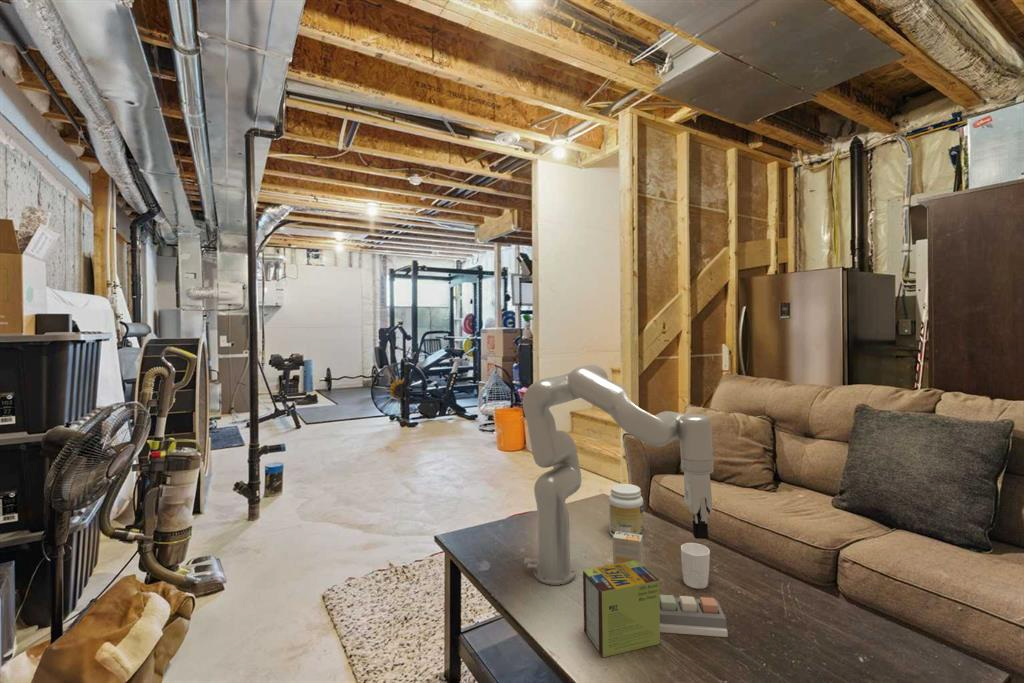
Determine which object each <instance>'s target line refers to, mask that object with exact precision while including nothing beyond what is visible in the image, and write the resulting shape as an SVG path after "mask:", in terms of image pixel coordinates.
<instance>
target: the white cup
mask: <svg viewBox="0 0 1024 683" xmlns="http://www.w3.org/2000/svg"><path fill="white" fill-rule="evenodd" d="M710 552H711V550H710V549H709V548H708V547H707V546H706V545H704V544H700V543H697V542H686V543H683V544H682V545H681V546H680V557H681V569H682V570H681V572H682V581H683V583H684V584H685V586H688V587H689V588H691V589H697V590H699V589H700V590H701V589H705V588H707V587H708V586H709V576H710V559H711V558H710V555H711V553H710Z"/></svg>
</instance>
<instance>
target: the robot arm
mask: <svg viewBox="0 0 1024 683" xmlns="http://www.w3.org/2000/svg"><path fill="white" fill-rule="evenodd" d="M578 399H581V400H584V401H586V402H587V403H589V404H591V405H593V406H594V407H596V408H598V409H600V410H601V411H603V412H605V413H607V414H608V415H609V416H610V417H611V418H612V419H613V421H614V422H615V423H616V424H617V425H618V426H619V427H620V428H621V429H623V431H625V432H626V433H628V434H629V435H631V436H632V437H634V438H636V439H637V440H640V441H641V442H642V443H645V444H647V445H649V446H652V447H659V448H660V447H664V446H667V445H669V443H671V442H673V441H675V440H679V448H680V449H679V450H680V468H681V471H682V472H683V496H684V497H683V500H684V503H685V506H686V507H687V508H686V509H688V511H689V512H690V514H691V515H692V535H693V536H694V539H695V540H696V539H698V540H700V539H701V540H707V539H709V528H708V526H709V524H708V515H711V514H712V513H713V498H712V497H713V496H712V495H713V494H712V485H711V484H712V481H711V475H710V474H713V473H714V470H715V469H714V468H715V467H714V455H713V454H714V453H713V452H714V450H713V434H712V432H713V431H712V430H713V429H712V421H711V420H712V419H710V417H709V416H708V415H705V414H702V413H689V414H686V413H680V412H675V411H670V410H669V411H667V410H664V411H662V412H659V413H657V414H655V415H654V414H652V413H650V412H648V411H646V410H644V409H642V408H641V407H639V406H637V405H636V404H635V403H634V402H633V401H632V400H631V399H630V397H629V393H628V390H627V388H626V387H625V386H623V385H620V384H619V383H617V382H615V381H613V380H611V379H609V376H608V374H607V372H606V370H604V368H602V367H601V366H599V365H594V364H590V365H585V366H579V367H576V368H574V369H573V370H572V371H570V372H567V373H565V374H562V375H556V376H552V377H547V378H542V379H539V380H537V381H535V382H533V383H532V384H530V385H529V386H528V387H527V389H525V392H524V394H523V398H522V409H523V413H524V417H525V419H526V420H525V421H526V424H527V430H528V436H529V442H530V448H531V453H532V457H533V458H532V459H533V460H534V463H535V464H536V465H537V466H538V467H539V468H542V469H543V468H544V469H546V468H548V469H549V468H551V467H552V469H550V470H548V471H546V472H543V474H541V475H540V476H539V477H538V478H537V480H536V481H535V484H534V487H533V492H534V497H535V498H534V499H535V502H536V510H537V528H538V529H537V533H538V534H537V535H538V536H537V537H538V541H537V542H538V554H537V555H538V556H537V557H534V558H531V557H528V558H527V557H526V558H524V566H527V569H534V570H533V575H534V578H535V577H536V578H537V579H538V580H537V579H536V578H535V579H536V580H537V581H539V582H540V583H542V582H543V584H545V583H546V585H549V584H550V586H553V585H554V586H561V585H560V584H562V585H566V584H569V583H571V582H572V581H573V580H575V578H576V570H575V567H574V566H572V565H571V546H570V545H571V543H570V540H571V538H570V536H571V535H570V514H569V513H570V512H569V510H568V507H567V504H566V500H567V499H568V498H569V497H571V496H573V495H574V494H575V493H577V492H578V491H579V489H580V487H581V485H582V471H581V466H580V462H579V461H580V460H579V457H578V456H579V455H578V451H577V447H576V446H577V445H576V443H575V440H574V438H573V437H572V436H571V435H570V434H569V432H566V431H564V430H560V429H559V430H557V427H556V420H555V417H554V416H553V415H554V414H552V412H551V410H550V408H551V407H554V406H556V405H561V404H565V403H568V402H571V401H574V400H578Z"/></svg>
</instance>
